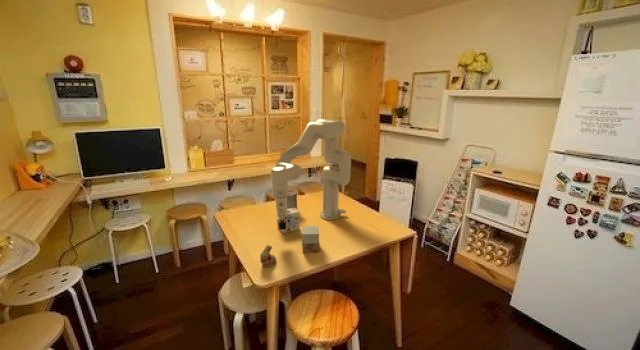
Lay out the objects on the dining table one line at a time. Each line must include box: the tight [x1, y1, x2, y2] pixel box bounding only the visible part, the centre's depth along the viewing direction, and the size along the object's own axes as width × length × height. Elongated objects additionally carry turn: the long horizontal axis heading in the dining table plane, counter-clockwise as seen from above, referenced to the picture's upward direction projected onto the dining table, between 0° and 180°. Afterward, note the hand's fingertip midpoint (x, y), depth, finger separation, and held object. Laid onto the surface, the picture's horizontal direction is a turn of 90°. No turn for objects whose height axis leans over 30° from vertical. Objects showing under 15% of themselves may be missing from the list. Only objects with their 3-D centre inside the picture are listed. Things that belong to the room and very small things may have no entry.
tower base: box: [301, 242, 320, 254], centre depth 141 cm, size 8×8×5 cm
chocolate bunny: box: [259, 244, 277, 269], centre depth 127 cm, size 6×8×10 cm
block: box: [276, 214, 288, 232], centre depth 143 cm, size 5×5×6 cm
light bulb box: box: [279, 208, 300, 234], centre depth 159 cm, size 11×7×11 cm, turn 117°
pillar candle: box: [287, 189, 298, 210], centre depth 180 cm, size 10×10×15 cm
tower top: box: [301, 225, 320, 245], centre depth 139 cm, size 8×8×5 cm
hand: (282, 225), depth 143 cm, fingers closed on block, 5 cm apart
